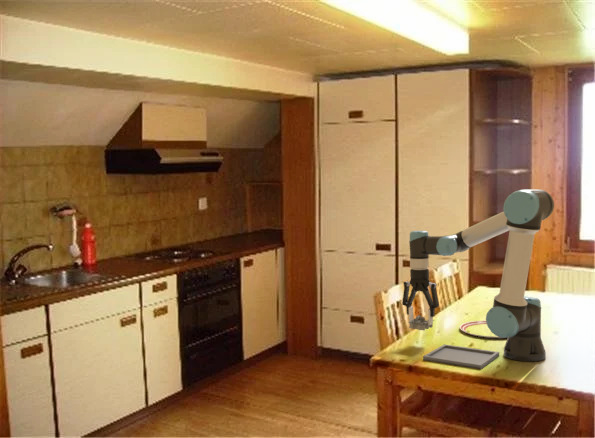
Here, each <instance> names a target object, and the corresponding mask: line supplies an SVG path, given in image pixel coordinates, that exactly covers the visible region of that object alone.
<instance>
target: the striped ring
mask: <svg viewBox="0 0 595 438" xmlns="http://www.w3.org/2000/svg"><path fill="white" fill-rule="evenodd" d="M477 325H487V323H486V320H472V321H467V322H464V323H461V324H460V325H459V329H460V330H461V331H462V332H464V333H466V334H468V335H471V336H474V337H477V336H478V337H477V338H483V337H484V339H503V338H502V337H498V336H496V335H495V336H493V335H491V336H490V335H482V334H476V333H471V332H468V331H467V328H469V327H472V326H477ZM507 338H508V337H507ZM507 338H506V339H507Z"/></svg>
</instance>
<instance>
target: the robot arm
mask: <svg viewBox="0 0 595 438" xmlns="http://www.w3.org/2000/svg"><path fill="white" fill-rule="evenodd" d="M554 209H555V201H554V198H553V196H552V195H551V194H550V193H548V191H546V190H544V189H540V188H537V189H536V188H535V189H519V190H515V191H514V192H511V194H509V195H508V196H507V198H505V201H504V203H503V211H501V212H499V213H497V214H495V215H493V216H490V217H489V218H486V219H484V220H482V221H480V222H478V223H475V224H473V225H472V226H470V227H467V228H465V229H463V230H460V231H459V232H457V233H453V234H449V235H442V236H441V235H440V236H439V235H437V236H435V235H433V236H431V235H429V232H428V231H427V230H412V231H410V232H409V258H410V259H409V268H410V269H409V272H410V274H409V275H410V280H409V281H408V280H406V281H404V282H403V294H402V300H401V301H402V302H401V303H402V304H401V305H402V306H405V307H406V315H408V324H410V321H411V320H413V319H414V306H413V302H414V299H415V298H416V294H417V292H421V293H422V294H423V295H424V297H425V300H426V303H427V304H428V307H429V308H428V309H427V317H428V318H427V320H428V325H432V324H433V325H434V321H433V320H434V317H435V316H436V315H435V313H436V312H435V309H437V308H439V307H440V302H439V298H438V292H437V283H436V282H431V281H430V270H429V267H430V261H429V256H430V255H433V256H443V257H449V256H450V257H451V256H453V255H454V254H455V253H457V254H458V253H464V252H465V251H468V250H469V249H470V248H472V247H475V246H476V245H479V244H481V243H483V242H486V241H488V240H490V239H492V238H494V237H497V236H499V235H502V234H504V233H506V232H509V233H508V239H507V243H506V244H507V245H506V250H505V251H506V252H505V257H504V262H503V263H504V264H503V270H502V274H501V275H502V276H501V281H500V287H499V288H500V289H499V293H498V294H496V295H495V296H494V298H493V304H492V307H491V308H490V309H488V311H487V313H486V315H485V321H486V323H487V324H486V325H487V328H488V329H489V330H490V332H491V333H492V334H493V335H495V336H496V337H502V338H501V339H506V342H505V345H504V348H503V356H504V357H506V358H508V359H509V360H515V361H520V362H539V361H543V360H545V359H546V357H547V356H546V353H547V352H546V349H545V346H544V343H543V339H542V334H541V333H542V328H541V326H542V325H541V324H542V307H541V306H542V305H541V304H542V303H541V300H540V299H539V298H537V297H532V296H525V292H526V287H527V281H528V275H529V269H530V263H531V260H532V259H531V257H532V253H533V246H534V239H535V236H536V233H538V232H540V230H541V228H542V227H541V225H542V222H543V221H544V220H547V219H548V218H549V217H550V216H551V215H552V213H553V212H554ZM410 286H411V291H410ZM429 288H430V291H429ZM409 292H410V293H409ZM430 292H431V294H430ZM409 294H410V295H409ZM507 337H508V338H507Z"/></svg>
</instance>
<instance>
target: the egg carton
mask: <svg viewBox="0 0 595 438" xmlns="http://www.w3.org/2000/svg"><path fill="white" fill-rule="evenodd" d="M434 321H435V320H434V319H433V322H434ZM433 325H434V323H433V324H432V325H428V319H425V316H422V315H421V314H420V315H419V314H418V315H417V316H415V318H414V317H413V320H411V321H410V323H409V327H408V328H409V329H412V330H417V331H425V330H429V329H430V328H433Z"/></svg>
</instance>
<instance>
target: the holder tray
mask: <svg viewBox="0 0 595 438" xmlns="http://www.w3.org/2000/svg"><path fill="white" fill-rule="evenodd" d="M498 357H500V351H494V350H487V349H481V348H472V347H466V346H460V345H459V346H458V345H451V344H442V345H441V346H439V347H437V348H435V349H433V350H431V351H430V352H428V353H426V354H425V355H422V358H423V359H422V360H423V361H427V362H433V363H438V364H446V365H452V366H457V367H458V366H459V367H465V368H469V369H470V368H471V369H477V370H482V369H484V368H485V367H486V366H488V365H489V364H490V363H492V362H493V361H494V360H496V359H497V358H498Z"/></svg>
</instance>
